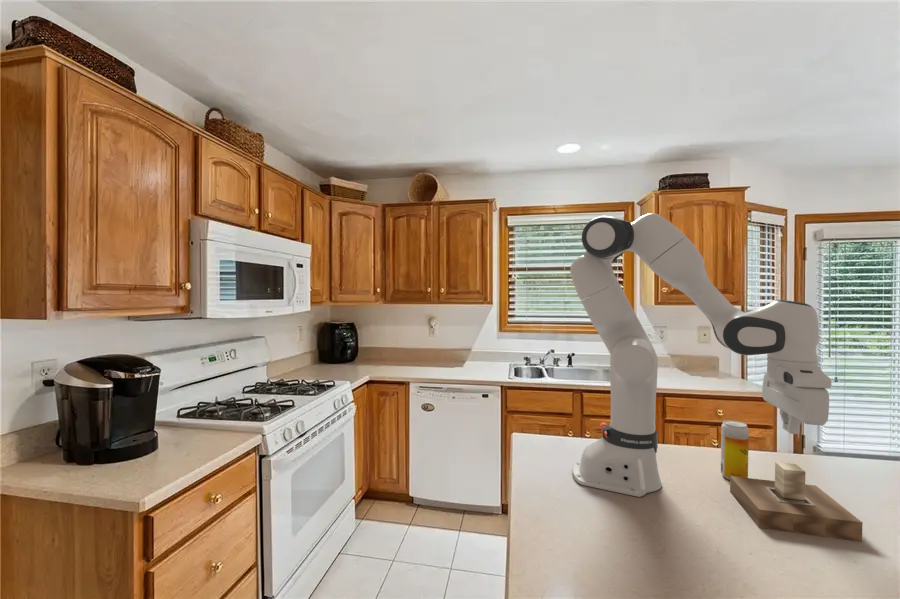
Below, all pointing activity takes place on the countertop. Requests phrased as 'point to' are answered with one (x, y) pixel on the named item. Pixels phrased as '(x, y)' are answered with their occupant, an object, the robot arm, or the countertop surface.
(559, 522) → the countertop surface
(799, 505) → the walnut board
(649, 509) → the countertop surface
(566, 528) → the countertop surface
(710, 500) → the countertop surface
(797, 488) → the birch peg
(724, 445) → the beer can
